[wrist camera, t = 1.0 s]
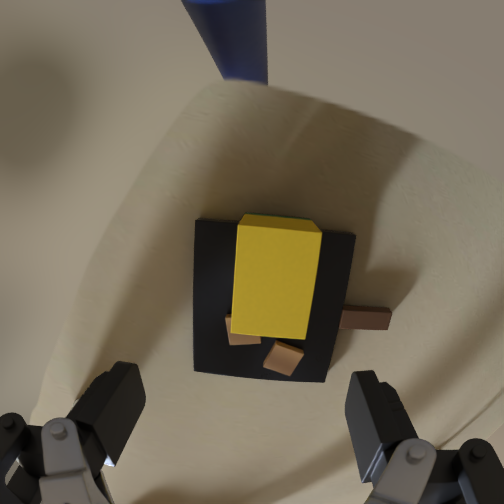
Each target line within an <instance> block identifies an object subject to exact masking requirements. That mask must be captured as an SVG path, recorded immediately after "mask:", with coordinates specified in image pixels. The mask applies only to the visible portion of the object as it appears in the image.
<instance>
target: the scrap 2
mask: <svg viewBox="0 0 504 504" xmlns="http://www.w3.org/2000/svg"><path fill="white" fill-rule="evenodd" d="M303 355H304V352H303V350H301V349H298V348H296V347H293V346H290V345H287V344H285V343H282V342H279V341H277V340H276V341H275V343H274V345H273V346H272V348H271V350H270V352H269V354H268V355H267V357H266V359H265V360H264V362H263V367H265V368H268V369H271V370H274V371H277V372H279V373H282V374H285V375H288V376H290V375H291V374H292V372H293V371H294V369H295V368H296V366H297V365H298V363H299V361H300V360H301V358H302V357H303Z"/></svg>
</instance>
